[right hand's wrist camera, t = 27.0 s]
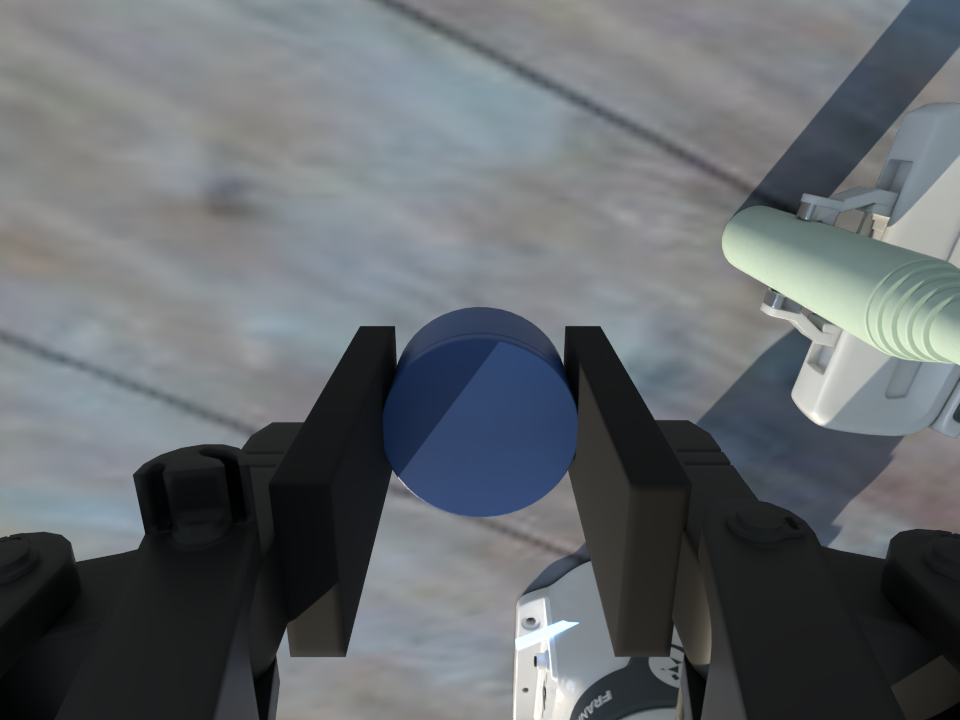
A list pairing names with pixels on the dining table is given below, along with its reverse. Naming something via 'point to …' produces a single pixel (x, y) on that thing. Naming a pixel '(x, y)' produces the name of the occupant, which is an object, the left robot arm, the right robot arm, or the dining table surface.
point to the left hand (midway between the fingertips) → (784, 255)
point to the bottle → (853, 281)
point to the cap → (480, 414)
